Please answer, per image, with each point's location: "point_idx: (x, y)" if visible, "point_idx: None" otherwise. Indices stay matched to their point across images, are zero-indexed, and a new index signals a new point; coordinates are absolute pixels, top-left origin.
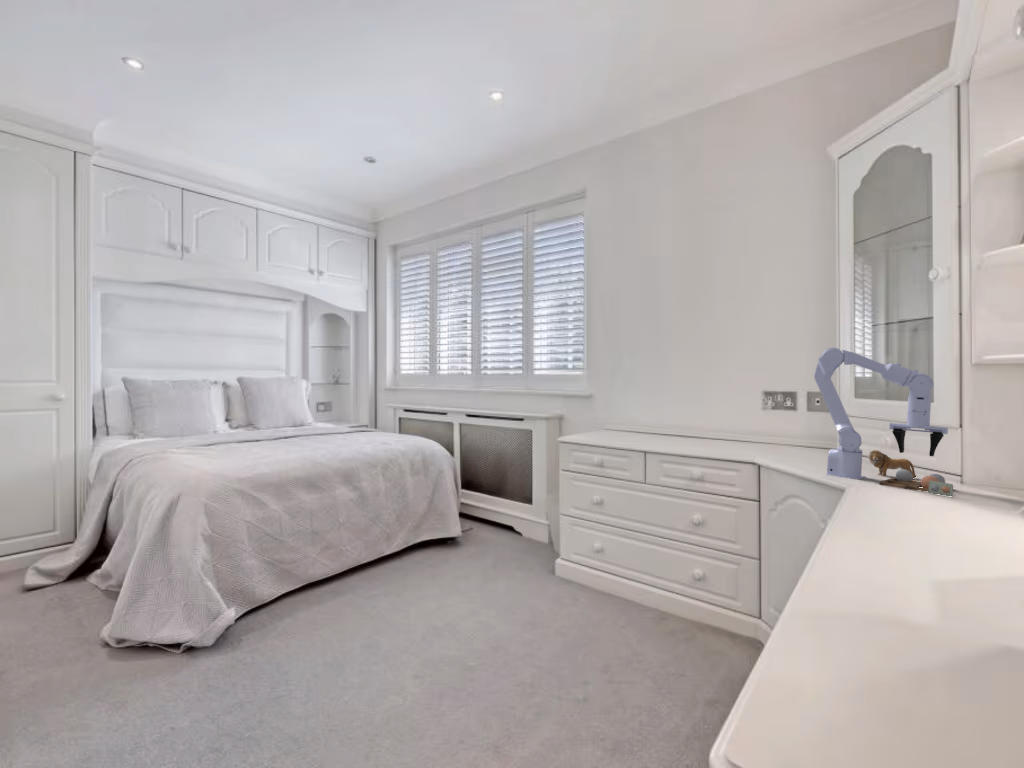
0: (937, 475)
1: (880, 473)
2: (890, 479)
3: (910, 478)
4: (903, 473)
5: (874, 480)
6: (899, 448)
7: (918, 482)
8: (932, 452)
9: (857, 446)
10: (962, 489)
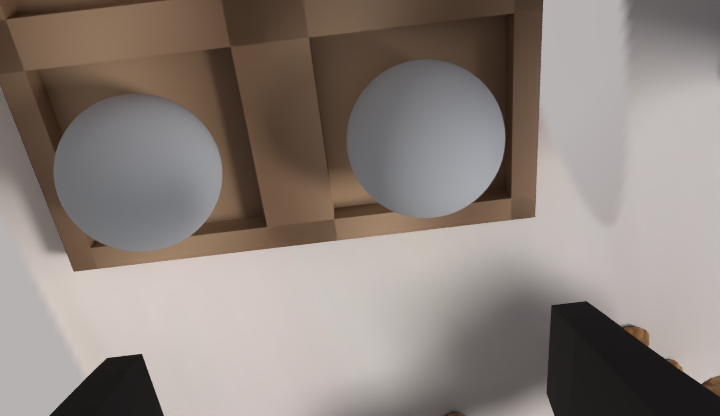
0: (89, 166)
1: None
2: (521, 51)
3: (354, 108)
4: (420, 87)
5: (651, 31)
6: (628, 335)
7: (307, 169)
8: (64, 401)
9: None
10: (94, 364)
